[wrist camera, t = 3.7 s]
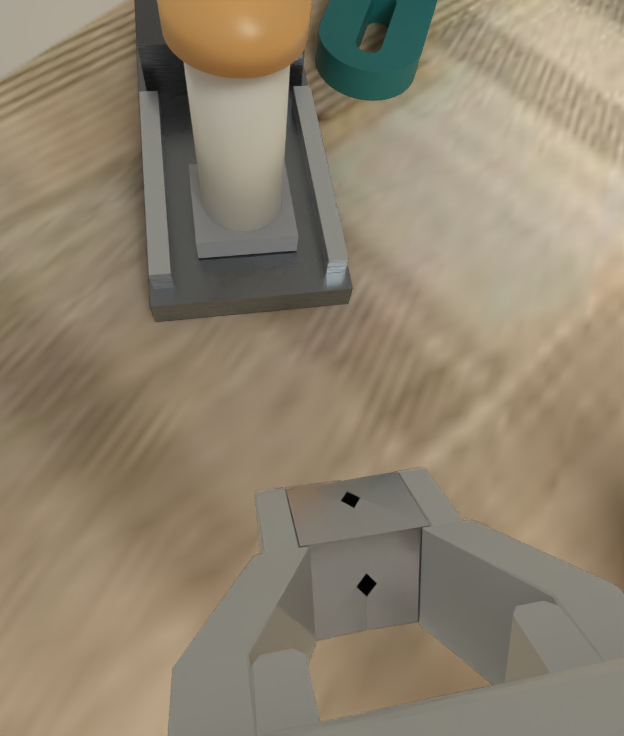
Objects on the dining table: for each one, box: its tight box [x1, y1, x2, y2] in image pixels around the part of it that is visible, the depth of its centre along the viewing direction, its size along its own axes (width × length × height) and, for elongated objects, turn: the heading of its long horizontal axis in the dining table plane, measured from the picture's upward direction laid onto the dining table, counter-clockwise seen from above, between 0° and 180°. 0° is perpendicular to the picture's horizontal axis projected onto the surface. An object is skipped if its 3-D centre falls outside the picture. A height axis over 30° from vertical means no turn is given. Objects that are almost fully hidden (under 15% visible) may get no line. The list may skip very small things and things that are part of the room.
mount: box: [134, 0, 353, 322], centre depth 30 cm, size 19×10×5 cm, turn 9°
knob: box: [157, 0, 312, 258], centre depth 23 cm, size 5×5×12 cm
